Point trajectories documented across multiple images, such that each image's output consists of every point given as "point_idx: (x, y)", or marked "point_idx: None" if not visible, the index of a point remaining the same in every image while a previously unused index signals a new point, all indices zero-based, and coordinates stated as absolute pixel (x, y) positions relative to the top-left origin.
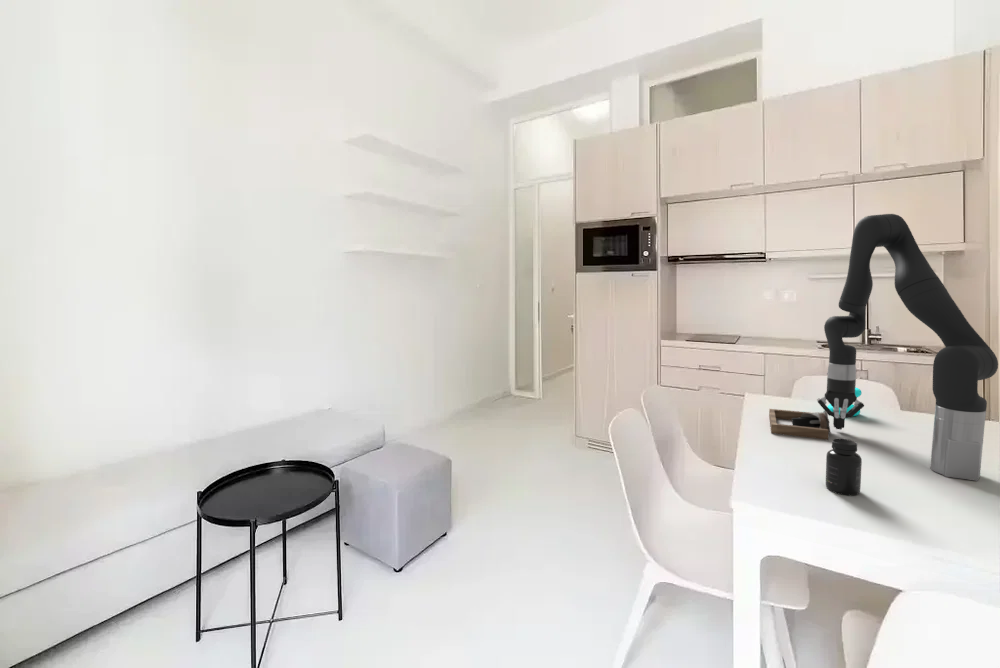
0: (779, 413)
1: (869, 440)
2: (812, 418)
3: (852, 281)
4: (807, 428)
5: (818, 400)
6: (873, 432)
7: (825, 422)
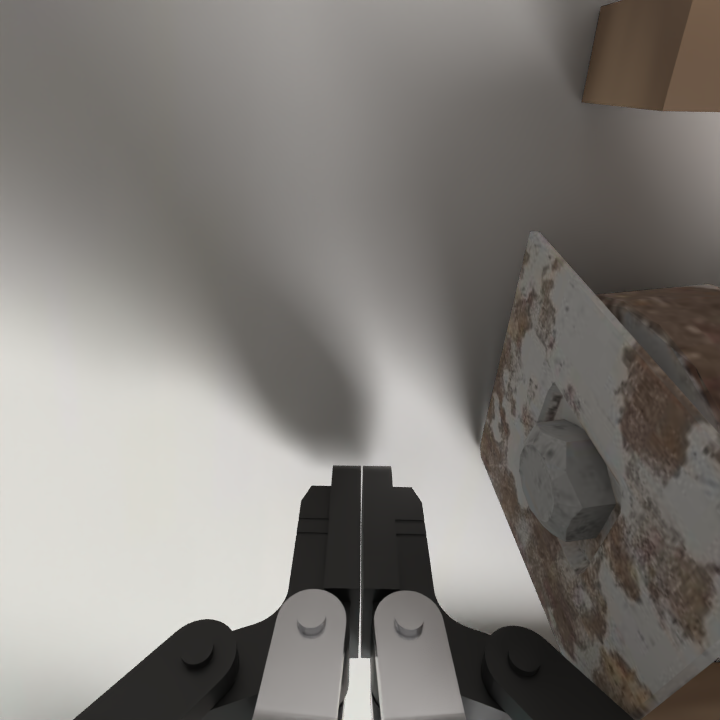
0: None
1: (42, 247)
2: None
3: None
4: None
5: None
6: (44, 553)
7: (679, 331)
